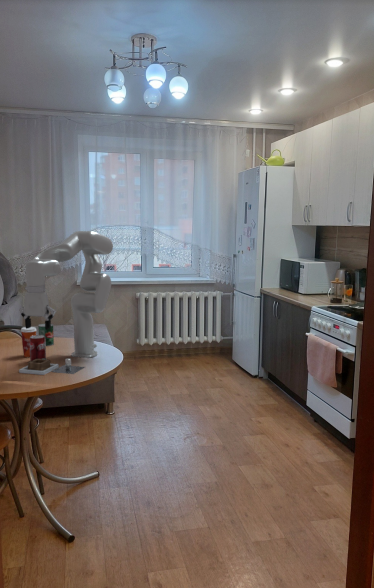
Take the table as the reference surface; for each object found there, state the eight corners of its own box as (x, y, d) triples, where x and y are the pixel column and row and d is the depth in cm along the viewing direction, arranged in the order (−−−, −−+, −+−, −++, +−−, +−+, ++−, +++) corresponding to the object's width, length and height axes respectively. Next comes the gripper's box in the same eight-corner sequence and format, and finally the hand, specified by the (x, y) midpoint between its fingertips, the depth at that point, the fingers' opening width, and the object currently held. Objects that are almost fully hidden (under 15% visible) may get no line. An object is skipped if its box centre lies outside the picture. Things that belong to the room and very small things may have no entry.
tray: (35, 367, 215) (35, 362, 215) (58, 369, 212) (58, 364, 212) (19, 375, 204) (19, 369, 203) (43, 377, 201) (43, 371, 200)
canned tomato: (40, 343, 263) (40, 323, 262) (55, 342, 264) (54, 323, 263) (37, 346, 256) (36, 326, 254) (52, 346, 256) (51, 326, 255)
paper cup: (25, 358, 231) (24, 330, 229) (19, 355, 237) (17, 327, 235) (40, 355, 236) (39, 328, 234) (34, 352, 242) (33, 325, 240)
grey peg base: (63, 367, 215) (63, 355, 214) (85, 369, 212) (85, 356, 212) (50, 374, 205) (50, 361, 204) (73, 376, 202) (73, 363, 201)
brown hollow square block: (28, 372, 206) (27, 362, 205) (38, 367, 213) (38, 358, 213) (41, 373, 204) (41, 363, 203) (51, 368, 211) (51, 359, 211)
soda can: (47, 359, 230) (47, 334, 228) (43, 363, 223) (42, 338, 221) (32, 359, 230) (31, 335, 228) (28, 363, 222) (27, 338, 221)
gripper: (13, 290, 202) (15, 329, 204) (49, 291, 197) (51, 331, 200) (23, 287, 209) (26, 325, 212) (58, 289, 204) (60, 327, 207)
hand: (38, 328), depth 206 cm, fingers open, 9 cm apart
